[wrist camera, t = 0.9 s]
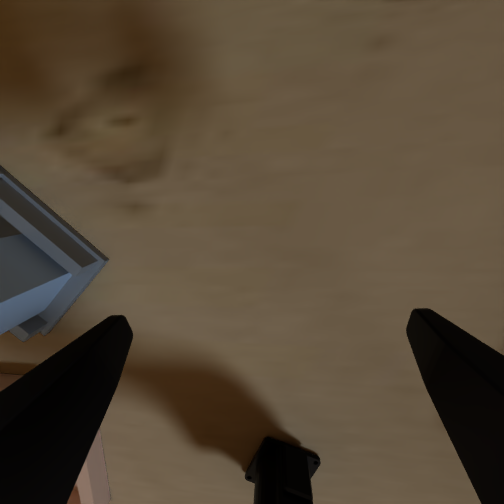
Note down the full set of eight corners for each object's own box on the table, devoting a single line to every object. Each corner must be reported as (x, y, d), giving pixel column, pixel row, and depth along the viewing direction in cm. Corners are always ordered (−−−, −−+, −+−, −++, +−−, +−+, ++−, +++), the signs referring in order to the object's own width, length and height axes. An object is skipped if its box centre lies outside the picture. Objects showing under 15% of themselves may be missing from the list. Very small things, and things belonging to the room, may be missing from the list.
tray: (92, 381, 28) (74, 400, 25) (110, 499, 32) (97, 524, 30) (-60, 367, 29) (-90, 384, 26) (-20, 482, 34) (-43, 505, 31)
